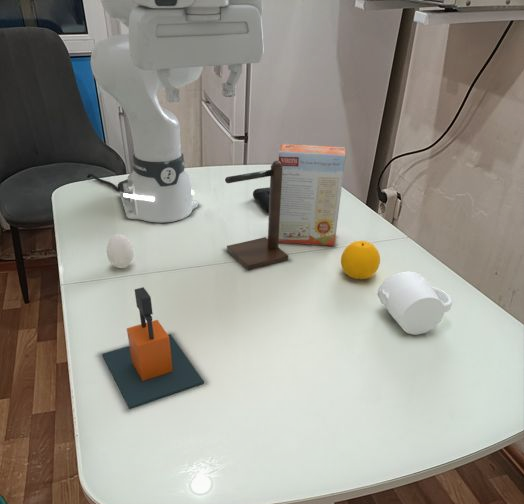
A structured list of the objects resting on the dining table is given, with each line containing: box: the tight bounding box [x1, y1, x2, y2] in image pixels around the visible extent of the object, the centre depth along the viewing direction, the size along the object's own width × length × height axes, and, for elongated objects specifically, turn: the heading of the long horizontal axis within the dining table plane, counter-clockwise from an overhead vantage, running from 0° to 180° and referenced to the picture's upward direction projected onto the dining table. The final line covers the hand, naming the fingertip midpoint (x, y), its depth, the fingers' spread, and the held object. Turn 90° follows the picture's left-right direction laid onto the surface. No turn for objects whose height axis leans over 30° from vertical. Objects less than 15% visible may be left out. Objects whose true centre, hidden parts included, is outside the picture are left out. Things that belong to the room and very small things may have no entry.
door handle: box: [252, 186, 270, 214], centre depth 136 cm, size 3×20×16 cm
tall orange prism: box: [126, 286, 173, 381], centre depth 78 cm, size 5×5×14 cm
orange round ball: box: [340, 240, 381, 280], centre depth 106 cm, size 8×8×8 cm
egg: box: [106, 233, 135, 269], centre depth 105 cm, size 5×5×7 cm
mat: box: [101, 333, 205, 409], centre depth 82 cm, size 14×12×1 cm
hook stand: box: [224, 160, 289, 271], centre depth 107 cm, size 10×13×20 cm
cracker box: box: [278, 143, 346, 247], centre depth 114 cm, size 14×6×21 cm, turn 84°
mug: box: [377, 271, 453, 336], centre depth 93 cm, size 12×9×8 cm
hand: (201, 98), depth 79 cm, fingers open, 8 cm apart
